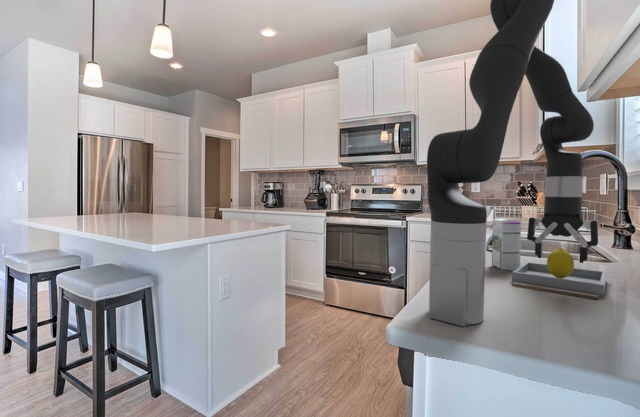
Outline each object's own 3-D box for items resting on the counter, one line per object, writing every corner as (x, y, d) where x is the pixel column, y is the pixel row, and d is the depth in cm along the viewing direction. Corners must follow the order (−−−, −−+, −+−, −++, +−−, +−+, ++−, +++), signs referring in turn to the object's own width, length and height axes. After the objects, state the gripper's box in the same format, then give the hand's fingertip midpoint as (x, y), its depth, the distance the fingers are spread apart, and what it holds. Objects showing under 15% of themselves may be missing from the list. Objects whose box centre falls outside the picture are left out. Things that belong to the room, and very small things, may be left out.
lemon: (578, 283, 82) (579, 250, 81) (552, 282, 83) (553, 249, 82) (566, 277, 87) (567, 246, 86) (542, 276, 88) (543, 246, 88)
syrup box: (521, 270, 97) (522, 219, 96) (500, 270, 97) (501, 219, 97) (510, 265, 103) (511, 218, 102) (490, 265, 103) (492, 218, 102)
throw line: (598, 299, 71) (598, 297, 71) (512, 285, 81) (512, 283, 81) (598, 298, 72) (598, 295, 72) (513, 284, 83) (513, 281, 83)
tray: (603, 296, 73) (604, 285, 73) (512, 281, 85) (512, 272, 84) (606, 281, 85) (606, 271, 85) (525, 270, 97) (526, 261, 97)
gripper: (526, 195, 86) (524, 258, 86) (599, 195, 76) (596, 266, 77) (532, 194, 91) (530, 254, 92) (600, 195, 82) (597, 261, 83)
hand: (560, 260), depth 85 cm, fingers open, 8 cm apart
